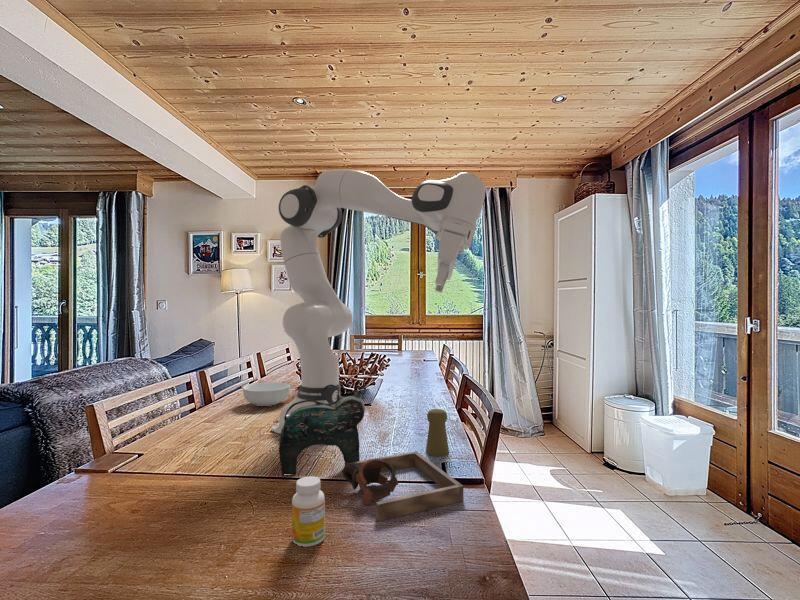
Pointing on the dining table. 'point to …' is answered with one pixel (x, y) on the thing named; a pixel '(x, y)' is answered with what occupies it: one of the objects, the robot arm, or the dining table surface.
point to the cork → (437, 433)
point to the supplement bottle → (308, 512)
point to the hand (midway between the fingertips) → (438, 288)
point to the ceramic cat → (322, 429)
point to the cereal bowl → (266, 393)
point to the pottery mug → (371, 479)
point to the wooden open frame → (420, 501)
